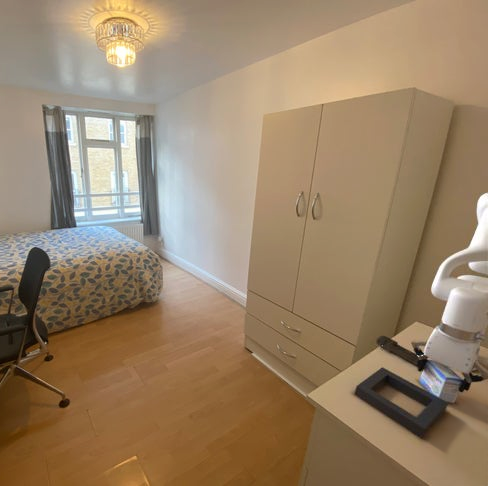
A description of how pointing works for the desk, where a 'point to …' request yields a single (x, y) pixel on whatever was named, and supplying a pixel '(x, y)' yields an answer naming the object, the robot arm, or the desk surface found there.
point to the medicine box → (440, 381)
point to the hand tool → (397, 349)
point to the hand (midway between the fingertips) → (440, 379)
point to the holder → (393, 411)
